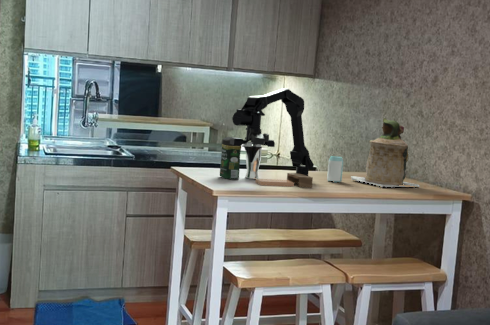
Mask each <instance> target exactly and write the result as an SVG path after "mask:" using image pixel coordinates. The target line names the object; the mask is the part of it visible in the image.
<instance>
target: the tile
mask: <svg viewBox="0 0 490 325" xmlns="http://www.w3.org/2000/svg"><path fill="white" fill-rule="evenodd" d="M255 183H256V184H257V185H259V186H267V187H268V186H273V187H275V186H276V187H291V186H294V185H295V183H293V182H291V181H289V180H287V179H276V178H274V179H272V178H258V179H255ZM294 187H295V186H294Z"/></svg>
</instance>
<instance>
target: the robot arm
mask: <svg viewBox="0 0 490 325" xmlns="http://www.w3.org/2000/svg"><path fill="white" fill-rule="evenodd" d="M279 101H281V102H282V103H283V104H284V106H285V109H286V112H287V114H288V115H289V116H290V122H291V132H292V140H293V142H292V143H293V147H292V150H290V151H289V154H290V158H289V159H290V160H291V165H292V167H294V168H296V169H295V173H300V174H303V175H306V176H309V170H313V169H314V165H315V164H314V163H313V161H312V159H311V155H310V151H309V150H308V148H307V147H306V145H305V136H304V128H303V126H304V125H303V119H302V118H303V117H302V115H303V113H304V110H305V100H304V98H303V97H301V96H299V95H298V94H296V93H294V92H293V91H292V90H291V89H290V88H284V87H283V88H279V89H277V90H274V91H271V92H268V93H265V94H263V95H250V96H248V97H247V99H246V102H245V103H244V104H243V106H242V107H241V109H239V108H237V109H236V111H235V112H234V114H233V116H232V117H231V118H232V119H231V120H232V123H233V125H235V126H241V127H242V126H244V127H245V133H246V135H245V137H244V139H243V138H242V137H241V138H240V137H234V138H231V139H230V144H232V145H241V148H242V147H243V148H244V150H245V153H247V156H248V159H249V162H250V163H252V162H253V160H254V157H255V155H256V153H257V151H258V150H259V149H260V148H261V149H262V148H263V146H264V147H265V146H267V148H269V147H271V148H275V145H276V144H275V143H276V141H275V140H273V139H270V134H269V133H266V132H265V133H263V132H262V128H261V124H262V117H265V116H266V114H265V113H264V112H263V110H264V109H266V108H268V106H269V105H270V104H273V103H276V102H279ZM252 145H253V146H252ZM261 146H262V147H261Z"/></svg>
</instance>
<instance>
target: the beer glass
mask: <svg viewBox="0 0 490 325" xmlns="http://www.w3.org/2000/svg"><path fill="white" fill-rule="evenodd" d="M252 146H253V144H252ZM261 147H262V148H263V145H261ZM262 148H260V149H259V150H258V151H257V153H256V155H255V157H254V160H253V162H252V163H250V162H249V159H248V156H247V153H246V152H245V153H246V154H245V161H246V162H245V163H246V164H245V165H246V173H245V175H244V176H245V178H246V179H248V178H249V179H250V180H256V179H260V178H259V167H260V164H261V160H262Z"/></svg>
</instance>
